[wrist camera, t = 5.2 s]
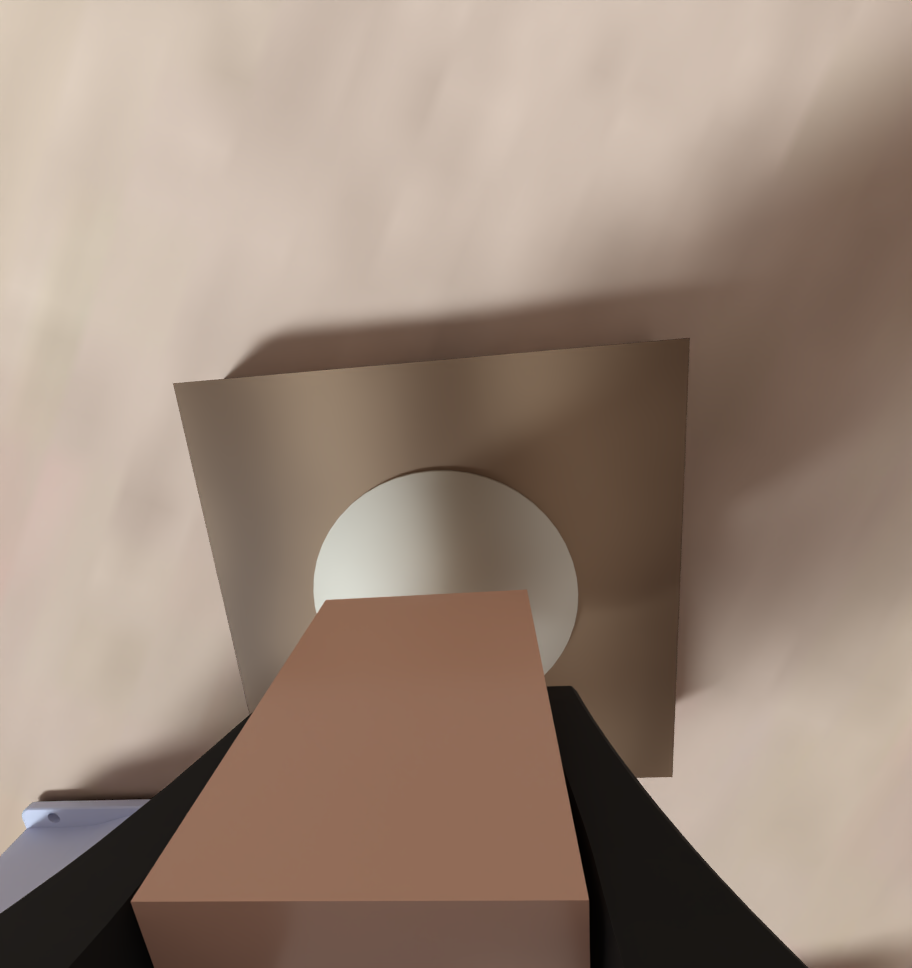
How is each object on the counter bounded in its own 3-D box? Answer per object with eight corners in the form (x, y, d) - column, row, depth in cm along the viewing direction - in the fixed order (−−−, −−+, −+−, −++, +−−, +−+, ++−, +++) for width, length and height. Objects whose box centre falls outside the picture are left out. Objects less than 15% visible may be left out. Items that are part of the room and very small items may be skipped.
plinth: (293, 731, 19) (263, 791, 16) (221, 380, 15) (168, 383, 13) (646, 720, 18) (674, 782, 15) (654, 342, 14) (693, 337, 12)
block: (353, 761, 12) (226, 1166, 6) (325, 599, 10) (131, 901, 5) (535, 757, 11) (594, 1182, 5) (527, 589, 10) (588, 900, 4)
